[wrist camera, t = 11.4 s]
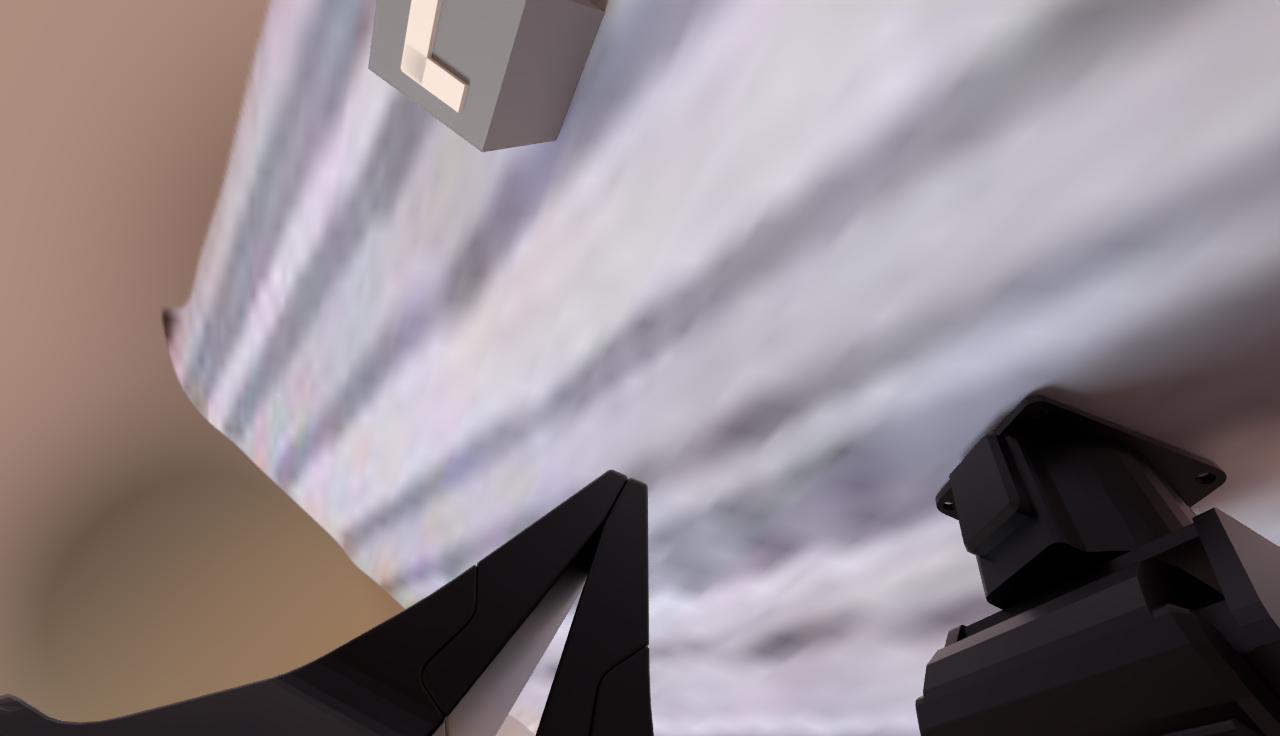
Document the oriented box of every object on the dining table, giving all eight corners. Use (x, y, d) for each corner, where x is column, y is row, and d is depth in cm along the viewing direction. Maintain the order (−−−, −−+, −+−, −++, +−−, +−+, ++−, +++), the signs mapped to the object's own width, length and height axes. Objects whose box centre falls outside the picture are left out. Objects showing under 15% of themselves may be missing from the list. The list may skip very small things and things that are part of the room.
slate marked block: (605, 12, 18) (525, -13, 13) (556, 140, 21) (478, 152, 16) (497, -66, 18) (384, -114, 14) (464, 73, 21) (363, 68, 17)
